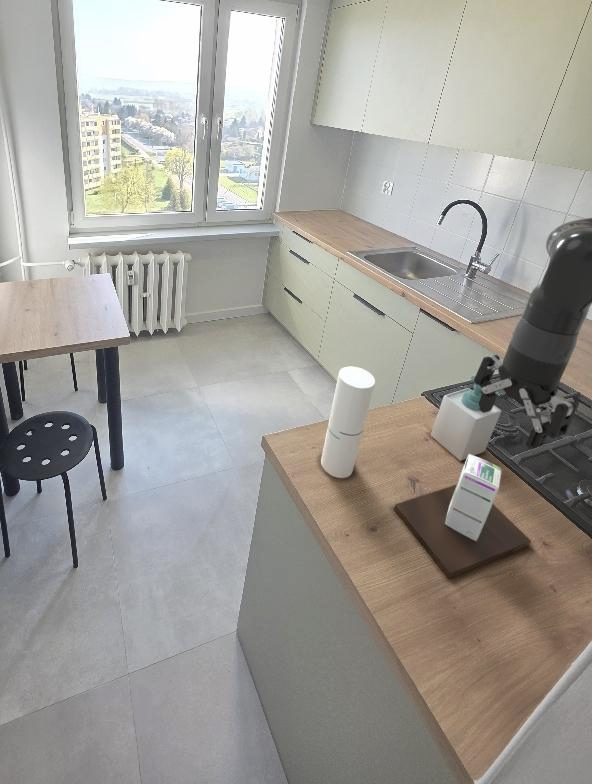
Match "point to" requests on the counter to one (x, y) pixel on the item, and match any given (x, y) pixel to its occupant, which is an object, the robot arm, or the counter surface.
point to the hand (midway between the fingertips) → (506, 427)
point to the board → (449, 544)
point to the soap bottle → (464, 423)
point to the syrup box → (473, 496)
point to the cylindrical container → (347, 420)
